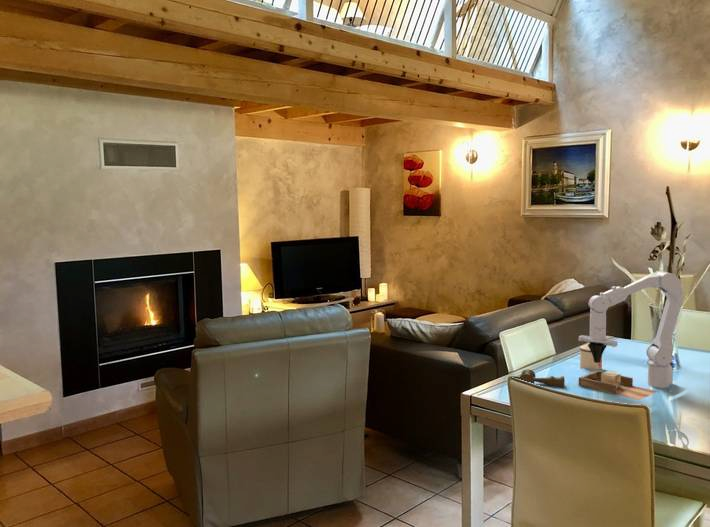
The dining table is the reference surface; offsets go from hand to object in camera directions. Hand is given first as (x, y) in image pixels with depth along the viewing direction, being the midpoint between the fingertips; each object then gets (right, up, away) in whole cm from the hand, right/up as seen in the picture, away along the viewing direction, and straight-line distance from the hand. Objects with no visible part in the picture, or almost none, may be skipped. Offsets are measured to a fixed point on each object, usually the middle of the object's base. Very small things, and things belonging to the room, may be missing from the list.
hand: (597, 362), depth 225 cm
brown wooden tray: (+5, -10, -5) cm, 12 cm away
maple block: (+4, -9, -3) cm, 10 cm away
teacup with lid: (+8, -7, +26) cm, 28 cm away
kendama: (-22, -10, +2) cm, 25 cm away
